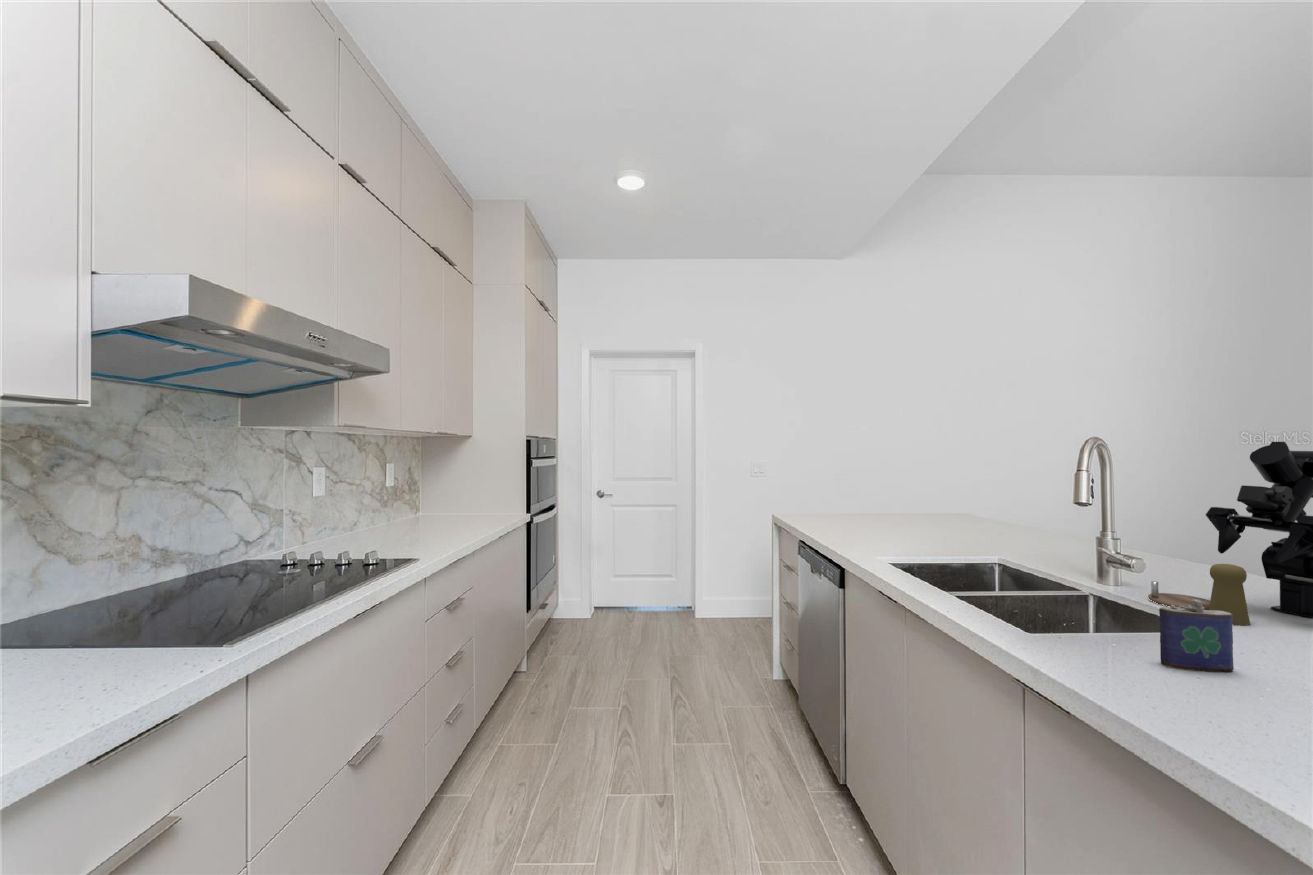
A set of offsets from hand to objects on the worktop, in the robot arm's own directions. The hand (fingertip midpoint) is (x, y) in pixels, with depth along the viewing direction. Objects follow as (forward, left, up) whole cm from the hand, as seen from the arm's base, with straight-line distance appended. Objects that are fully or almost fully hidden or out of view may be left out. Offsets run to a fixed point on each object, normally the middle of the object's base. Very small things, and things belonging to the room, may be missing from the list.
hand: (1247, 556), depth 115 cm
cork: (+5, 0, -13) cm, 14 cm away
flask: (+38, +14, -13) cm, 43 cm away
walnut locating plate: (0, -11, -12) cm, 17 cm away
